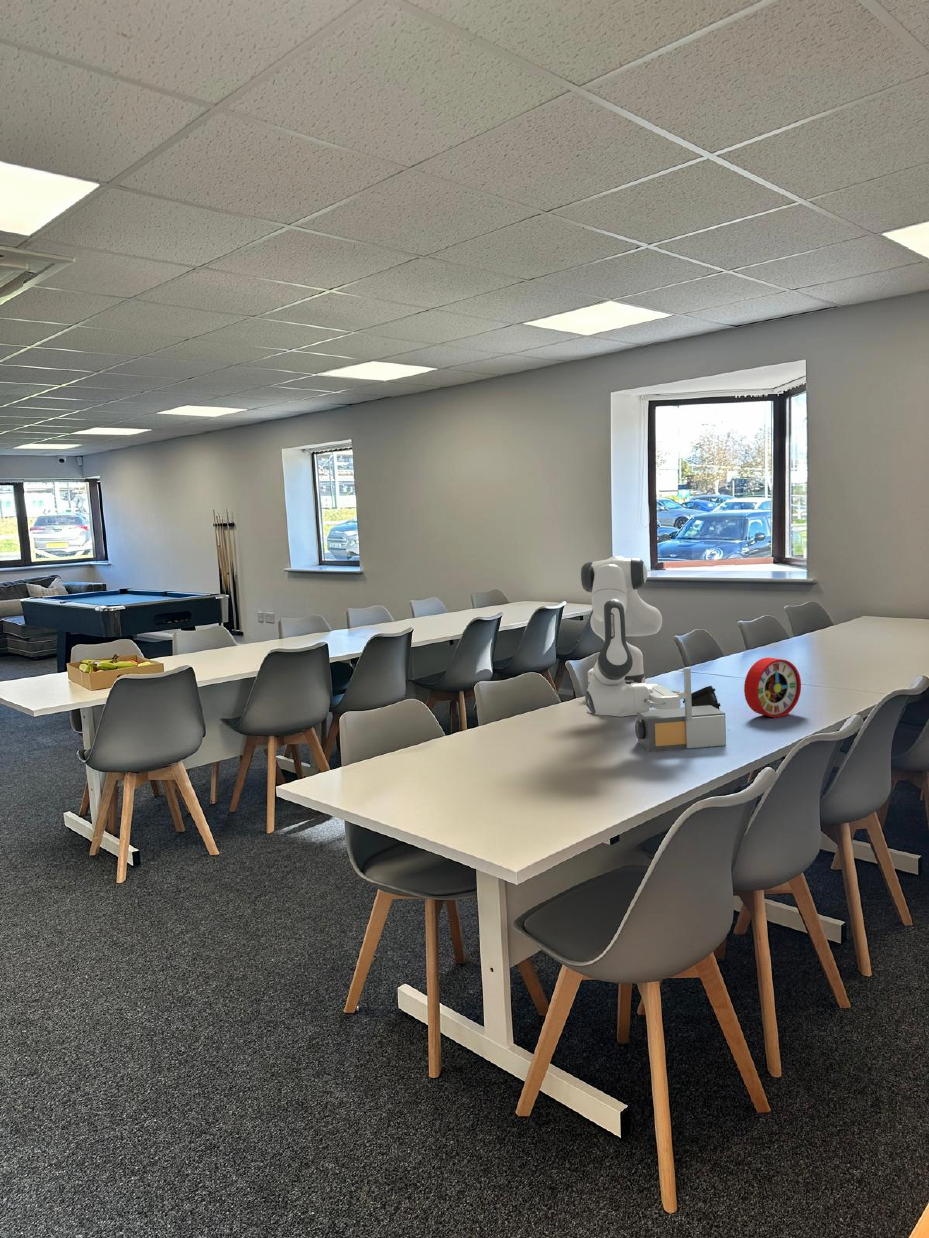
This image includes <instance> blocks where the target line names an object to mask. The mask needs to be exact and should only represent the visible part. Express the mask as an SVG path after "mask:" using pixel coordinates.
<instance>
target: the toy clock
mask: <svg viewBox="0 0 929 1238" xmlns="http://www.w3.org/2000/svg"><path fill="white" fill-rule="evenodd" d="M743 685H744V687H743V692H744V693H743V694H744V698H745V701H746V703H747V705H748V707H749V708H750V709H751V711H753V712H754V713H756V714H759V715H762V716H767V717H771V718H776V717H777V718H781V717H780V716H782V717H784V716H786V715H788V714H789V713H791V711H793V709H795V707H796V706H797V704H798V701H799V699H800V696H801V693H802V692H801V691H802V679H801V676H800V672H799V671H798V669H797V667H796V666H795V664H793V663H792V662H790V661H789V660H786V659H782V658H776V657H763V658H760V659H759V660H757V661H755V663H753V665H752V666H751V667H750V668H749V669H748V672H747V674H746V677H745V679H744V683H743Z"/></svg>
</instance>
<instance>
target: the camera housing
mask: <svg viewBox="0 0 929 1238" xmlns="http://www.w3.org/2000/svg"><path fill="white" fill-rule="evenodd" d="M719 709H720V708H719ZM719 709H717V708H715V707H713V706H711V705H706V706H693V707H692V717H704V716H716V715H725V716H726V712H724V711H722V710H721V709H720V710H719ZM726 726H727V725H726V724H725V738H726V739H727V736H726V735H727V732H726V731H727V730H726ZM634 730H635V731H634V732H635V735H636V738H637V742H638V744H640V745H641V746H642V747H643V748H645V749H646V750H647V749H648V750H649V751H648V750H647V751H648V752H656V751H655V750H661V751H667V750H666V749H673V750H683V749H687V748H686V722H685V706H680V708H676V709H655V708H654V709H649V711H648V712H644V713H637V715H636V720H635V724H634ZM721 746H723V745H721ZM697 748H699V747H697Z"/></svg>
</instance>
